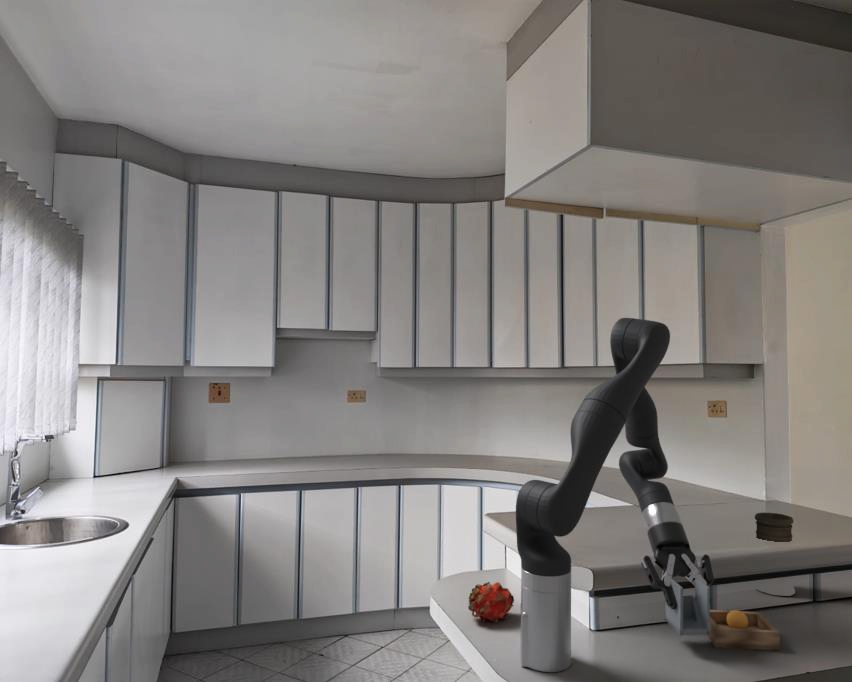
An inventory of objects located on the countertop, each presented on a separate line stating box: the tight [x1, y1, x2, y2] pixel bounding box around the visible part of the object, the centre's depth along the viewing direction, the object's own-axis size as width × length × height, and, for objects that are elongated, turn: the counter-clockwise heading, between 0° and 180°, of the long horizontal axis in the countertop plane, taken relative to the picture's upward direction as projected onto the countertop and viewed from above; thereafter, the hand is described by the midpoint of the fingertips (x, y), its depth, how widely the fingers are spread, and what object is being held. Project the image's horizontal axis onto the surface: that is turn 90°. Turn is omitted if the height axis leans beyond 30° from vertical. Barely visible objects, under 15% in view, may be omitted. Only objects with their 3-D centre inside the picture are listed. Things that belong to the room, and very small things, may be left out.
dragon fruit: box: [467, 581, 515, 624], centre depth 140 cm, size 8×8×12 cm
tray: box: [706, 609, 781, 652], centre depth 132 cm, size 12×10×4 cm
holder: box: [664, 578, 711, 636], centre depth 128 cm, size 7×6×9 cm
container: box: [754, 512, 794, 542], centre depth 158 cm, size 9×9×18 cm
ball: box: [726, 609, 748, 629], centre depth 133 cm, size 4×4×4 cm
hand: (690, 607), depth 126 cm, fingers closed on holder, 5 cm apart
